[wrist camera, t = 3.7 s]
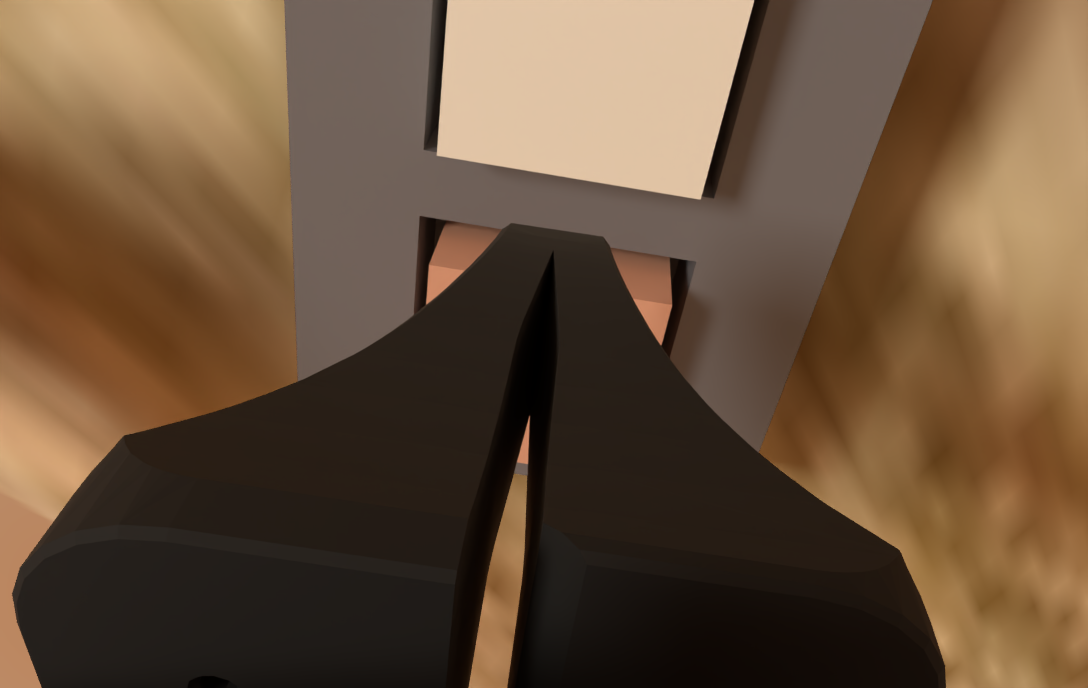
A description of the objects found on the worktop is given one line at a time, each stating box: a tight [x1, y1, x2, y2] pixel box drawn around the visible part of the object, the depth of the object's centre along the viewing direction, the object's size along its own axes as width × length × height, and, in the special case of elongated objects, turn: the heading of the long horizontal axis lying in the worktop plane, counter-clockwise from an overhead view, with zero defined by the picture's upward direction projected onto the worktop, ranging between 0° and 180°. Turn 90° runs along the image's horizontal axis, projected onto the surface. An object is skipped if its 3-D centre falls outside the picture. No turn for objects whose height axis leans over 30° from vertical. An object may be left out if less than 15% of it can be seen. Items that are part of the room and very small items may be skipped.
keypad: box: [284, 0, 933, 475], centre depth 15 cm, size 10×20×3 cm, turn 172°
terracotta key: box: [426, 220, 672, 464], centre depth 18 cm, size 4×4×2 cm
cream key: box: [437, 0, 754, 200], centre depth 14 cm, size 4×4×2 cm
